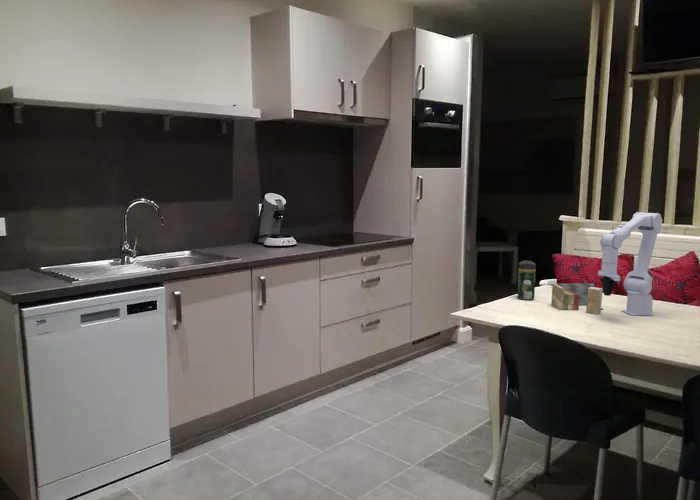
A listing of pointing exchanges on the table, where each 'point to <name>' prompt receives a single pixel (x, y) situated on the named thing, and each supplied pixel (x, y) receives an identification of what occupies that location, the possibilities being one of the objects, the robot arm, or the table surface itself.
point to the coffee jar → (526, 280)
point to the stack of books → (569, 296)
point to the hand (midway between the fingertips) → (607, 295)
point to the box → (594, 300)
